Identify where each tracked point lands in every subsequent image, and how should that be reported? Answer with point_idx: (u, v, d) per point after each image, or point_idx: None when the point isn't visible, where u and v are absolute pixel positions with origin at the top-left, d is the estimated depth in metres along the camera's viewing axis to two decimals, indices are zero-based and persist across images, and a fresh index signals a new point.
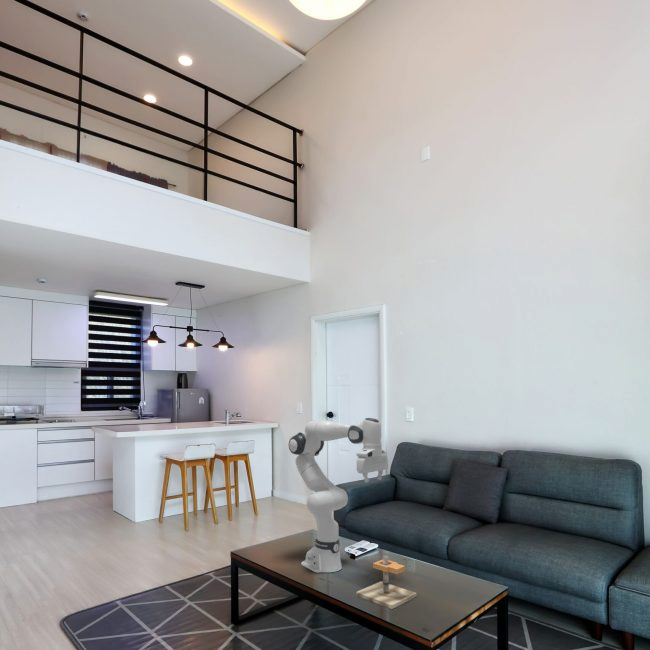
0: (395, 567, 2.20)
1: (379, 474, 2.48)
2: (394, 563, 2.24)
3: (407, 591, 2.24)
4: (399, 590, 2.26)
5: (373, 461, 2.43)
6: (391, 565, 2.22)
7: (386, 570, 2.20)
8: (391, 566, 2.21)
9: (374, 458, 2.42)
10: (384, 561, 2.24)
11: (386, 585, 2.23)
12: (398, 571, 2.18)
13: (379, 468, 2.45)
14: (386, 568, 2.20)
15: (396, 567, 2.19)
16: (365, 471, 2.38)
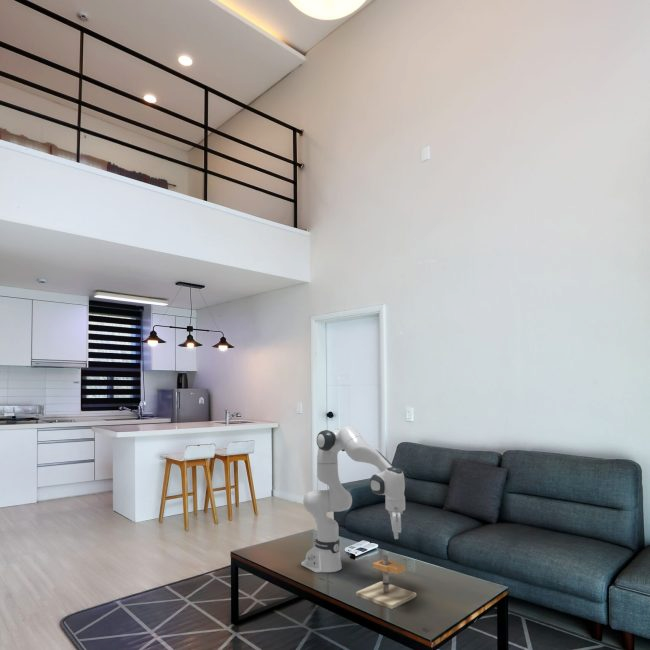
0: (395, 567, 2.20)
1: None
2: (394, 563, 2.24)
3: (407, 591, 2.24)
4: (399, 590, 2.26)
5: (392, 515, 2.25)
6: (391, 565, 2.22)
7: (386, 570, 2.20)
8: (391, 566, 2.21)
9: None
10: (384, 561, 2.24)
11: (386, 585, 2.23)
12: (398, 571, 2.18)
13: None
14: (386, 568, 2.20)
15: (396, 567, 2.19)
16: None
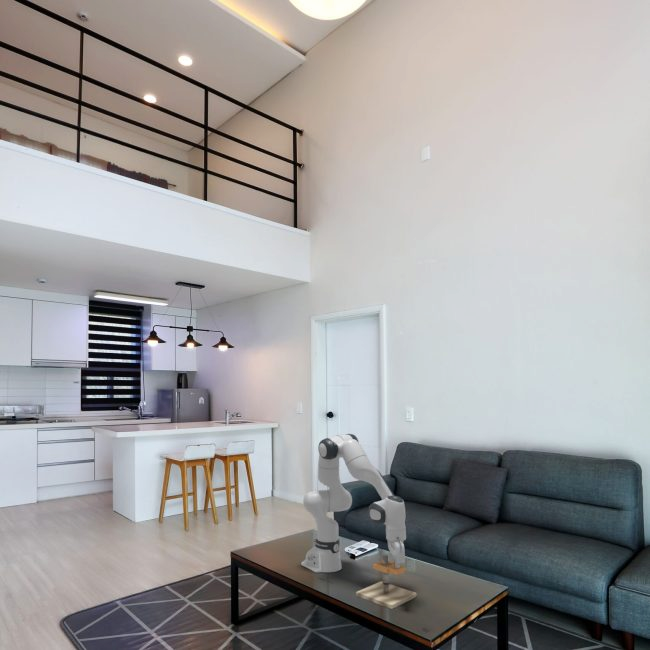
0: (395, 568, 2.19)
1: None
2: None
3: (407, 591, 2.24)
4: (399, 590, 2.26)
5: (392, 544, 2.23)
6: (391, 566, 2.22)
7: (386, 571, 2.19)
8: (391, 567, 2.21)
9: None
10: (384, 561, 2.24)
11: (386, 585, 2.23)
12: (398, 572, 2.18)
13: (393, 555, 2.18)
14: (386, 569, 2.20)
15: None
16: (389, 548, 2.29)
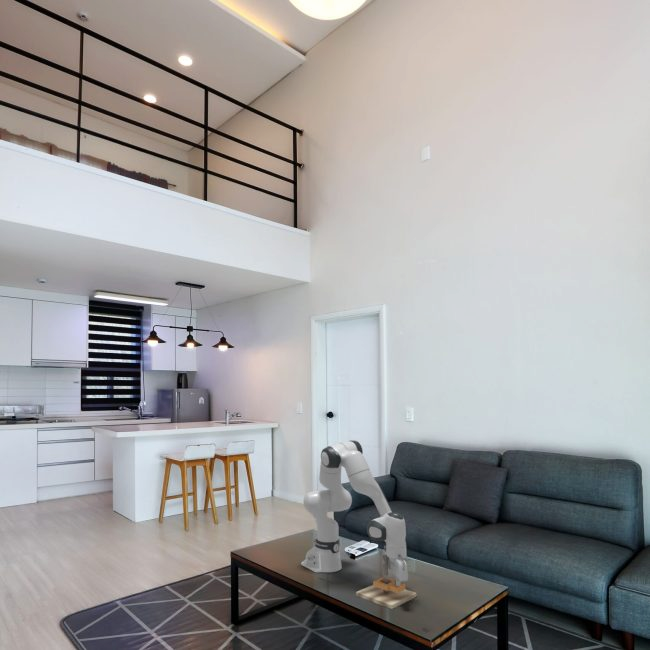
0: (395, 585, 2.19)
1: None
2: None
3: (407, 591, 2.24)
4: None
5: (392, 562, 2.21)
6: (391, 583, 2.21)
7: (386, 589, 2.19)
8: (391, 584, 2.20)
9: None
10: (384, 561, 2.24)
11: None
12: (398, 590, 2.17)
13: (394, 573, 2.17)
14: (386, 587, 2.19)
15: (396, 586, 2.18)
16: None
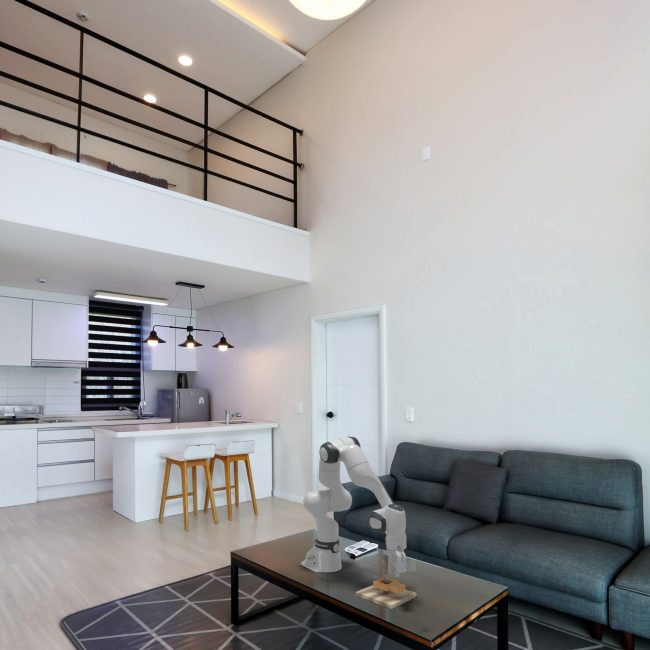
0: (395, 586, 2.19)
1: None
2: (394, 582, 2.23)
3: (407, 591, 2.24)
4: None
5: (392, 553, 2.22)
6: (391, 584, 2.21)
7: (386, 589, 2.19)
8: (391, 585, 2.20)
9: None
10: (384, 561, 2.24)
11: None
12: (398, 590, 2.17)
13: (394, 564, 2.18)
14: (386, 587, 2.19)
15: (396, 586, 2.18)
16: (388, 556, 2.29)
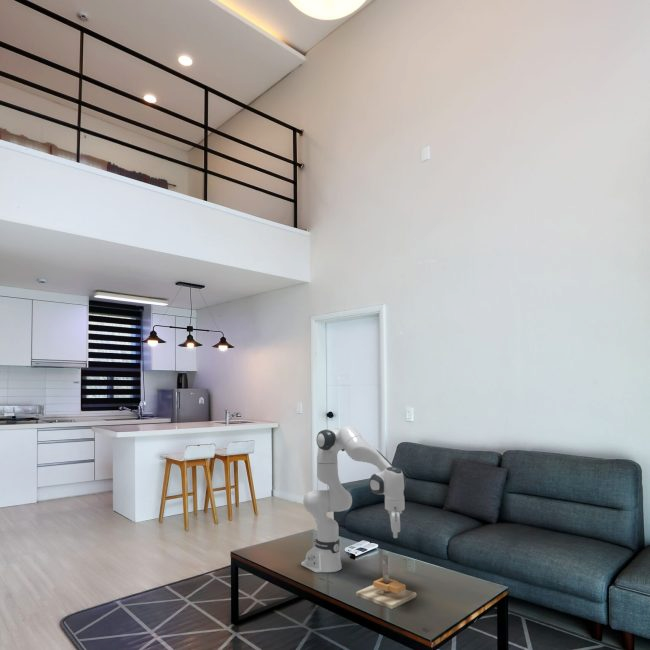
0: (395, 586, 2.19)
1: None
2: (394, 582, 2.23)
3: (407, 591, 2.24)
4: None
5: None
6: (391, 584, 2.21)
7: (386, 589, 2.19)
8: (391, 585, 2.20)
9: None
10: (384, 561, 2.24)
11: None
12: (398, 590, 2.17)
13: None
14: (386, 587, 2.19)
15: (396, 586, 2.18)
16: None
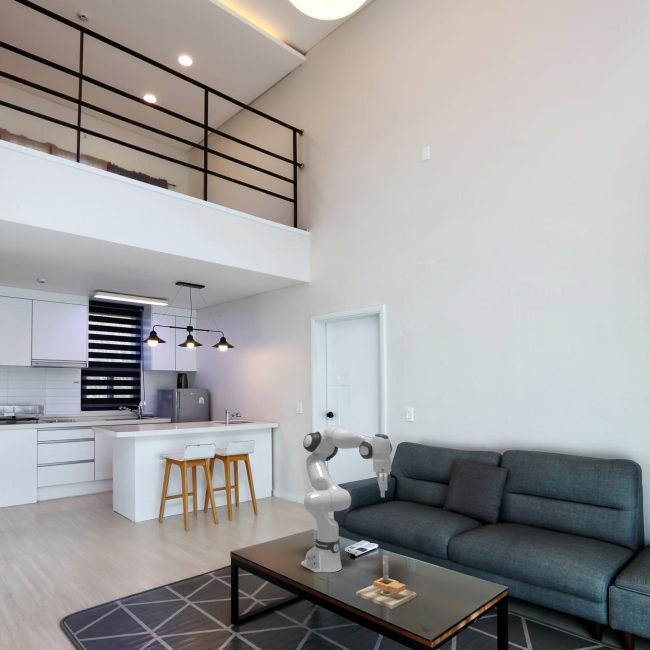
0: (395, 586, 2.19)
1: None
2: (394, 582, 2.23)
3: (407, 591, 2.24)
4: None
5: None
6: (391, 584, 2.21)
7: (386, 589, 2.19)
8: (391, 585, 2.20)
9: None
10: (384, 561, 2.24)
11: None
12: (398, 590, 2.17)
13: None
14: (386, 587, 2.19)
15: (396, 586, 2.18)
16: None
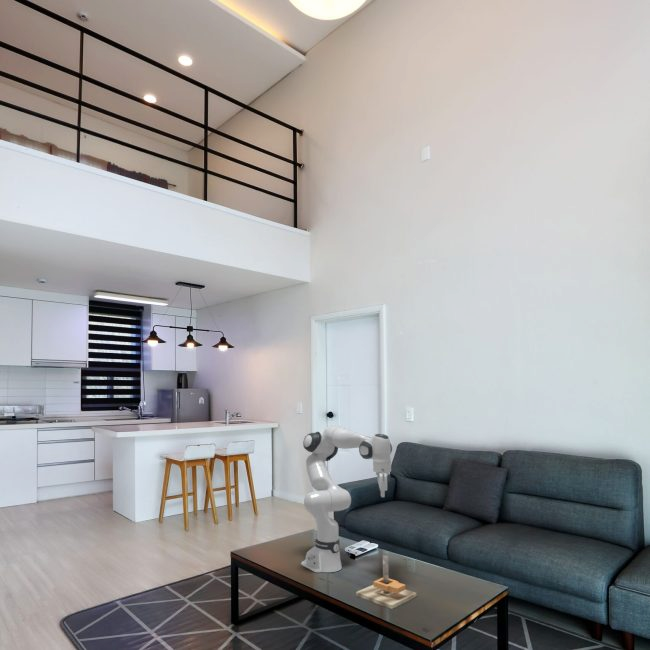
0: (395, 586, 2.19)
1: None
2: (394, 582, 2.23)
3: (407, 591, 2.24)
4: None
5: None
6: (391, 584, 2.21)
7: (386, 589, 2.19)
8: (391, 585, 2.20)
9: None
10: (384, 561, 2.24)
11: None
12: (398, 590, 2.17)
13: None
14: (386, 587, 2.19)
15: (396, 586, 2.18)
16: None
